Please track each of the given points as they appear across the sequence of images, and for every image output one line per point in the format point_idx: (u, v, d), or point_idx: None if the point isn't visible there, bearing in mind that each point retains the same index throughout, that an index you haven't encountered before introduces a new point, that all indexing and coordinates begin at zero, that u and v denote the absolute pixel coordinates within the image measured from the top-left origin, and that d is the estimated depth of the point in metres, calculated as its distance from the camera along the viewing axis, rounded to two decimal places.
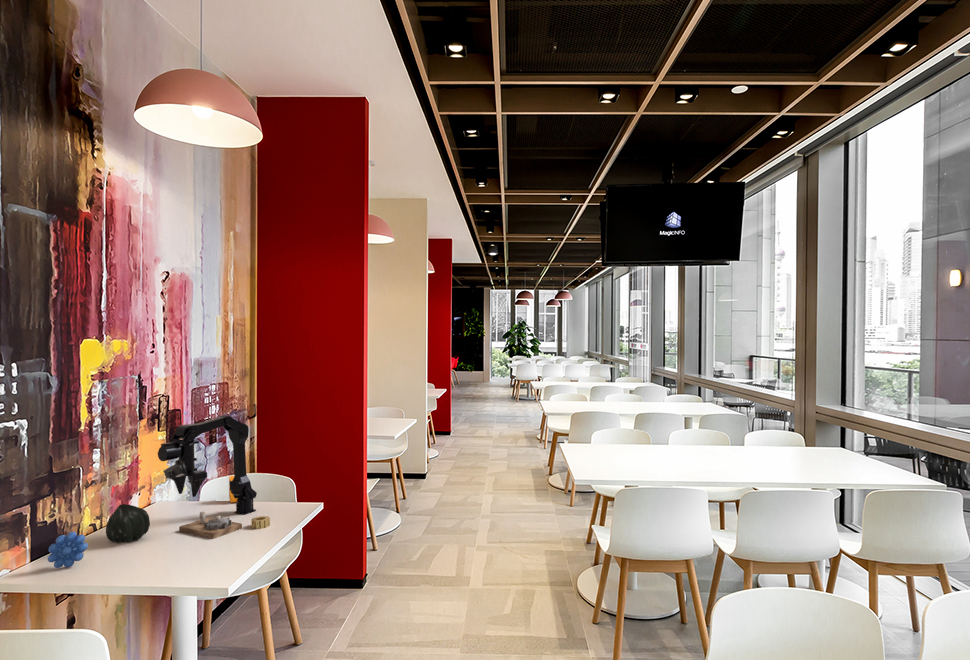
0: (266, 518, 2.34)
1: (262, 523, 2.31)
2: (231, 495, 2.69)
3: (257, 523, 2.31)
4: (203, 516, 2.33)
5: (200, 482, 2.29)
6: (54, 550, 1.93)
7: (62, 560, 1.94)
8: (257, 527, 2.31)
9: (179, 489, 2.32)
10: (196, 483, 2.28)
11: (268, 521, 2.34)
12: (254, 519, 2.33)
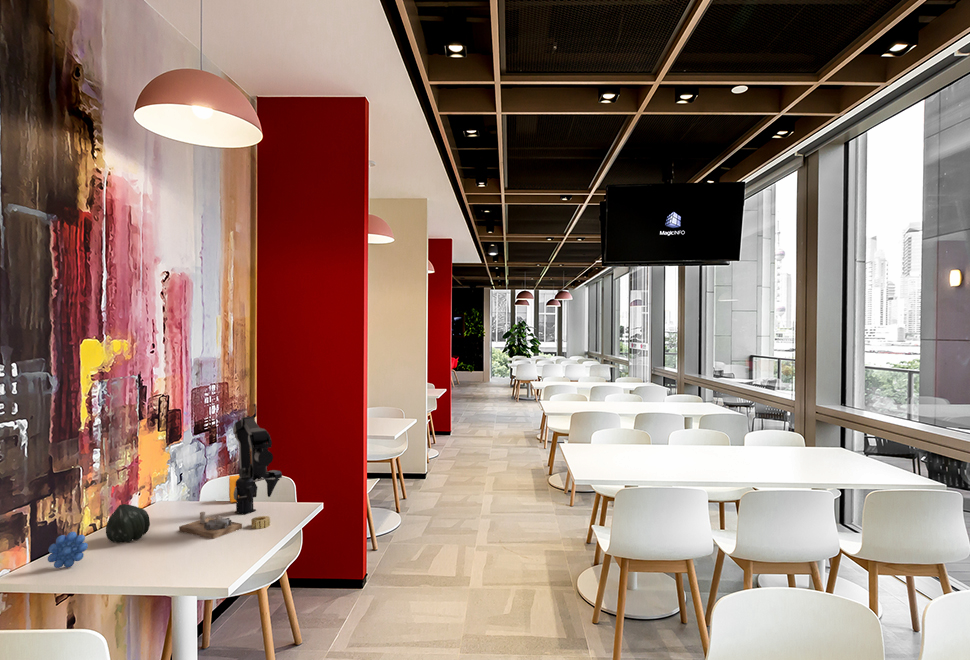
0: (266, 518, 2.34)
1: (262, 523, 2.31)
2: (231, 495, 2.69)
3: (257, 523, 2.31)
4: (203, 516, 2.33)
5: (249, 490, 2.28)
6: (54, 550, 1.93)
7: (62, 560, 1.94)
8: (257, 527, 2.31)
9: (267, 492, 2.39)
10: (248, 490, 2.29)
11: (268, 521, 2.34)
12: (254, 519, 2.33)
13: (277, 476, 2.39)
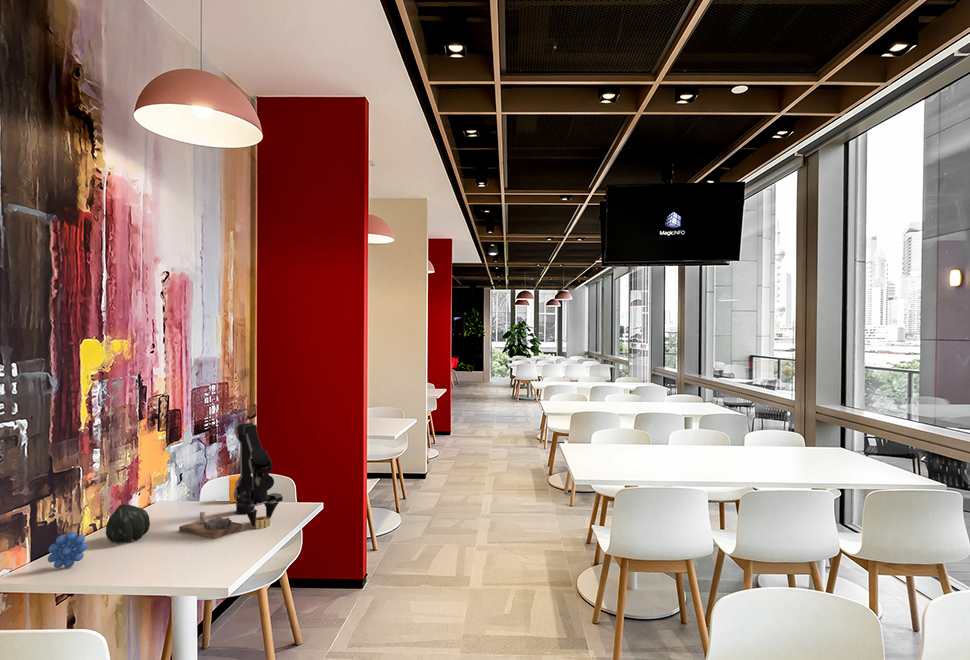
0: (266, 518, 2.34)
1: (262, 523, 2.31)
2: (231, 495, 2.69)
3: (257, 523, 2.31)
4: (203, 516, 2.33)
5: (252, 514, 2.29)
6: (54, 550, 1.93)
7: (62, 560, 1.94)
8: (257, 527, 2.31)
9: None
10: (251, 514, 2.30)
11: (268, 521, 2.34)
12: None
13: (278, 499, 2.39)
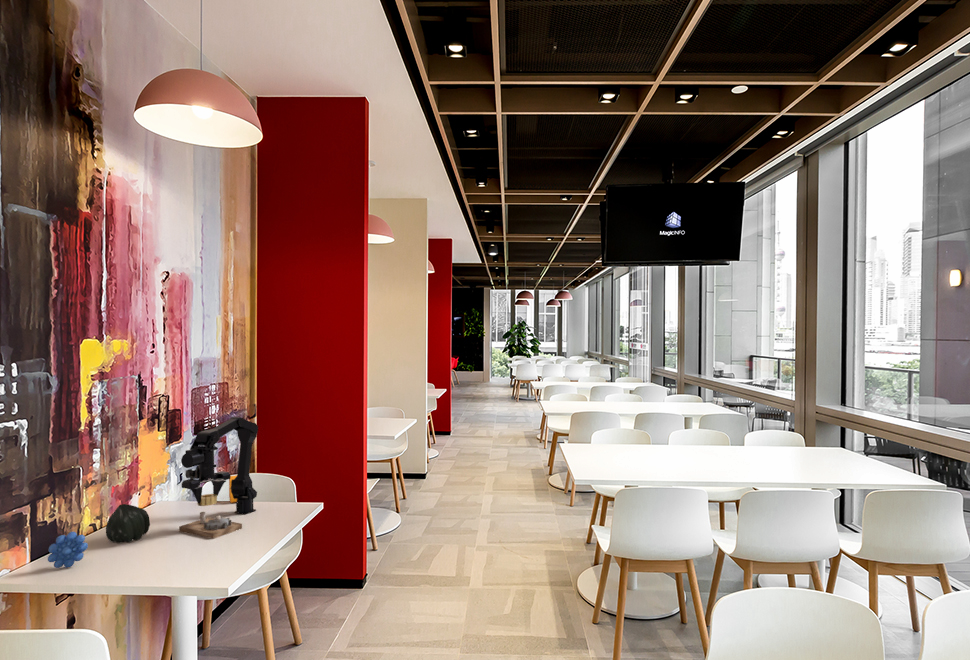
0: (213, 495, 2.34)
1: (208, 500, 2.31)
2: (231, 495, 2.69)
3: (203, 500, 2.30)
4: (203, 516, 2.33)
5: (197, 491, 2.28)
6: (54, 550, 1.93)
7: (62, 560, 1.94)
8: (203, 504, 2.30)
9: None
10: (196, 491, 2.29)
11: (215, 498, 2.33)
12: None
13: (225, 477, 2.38)
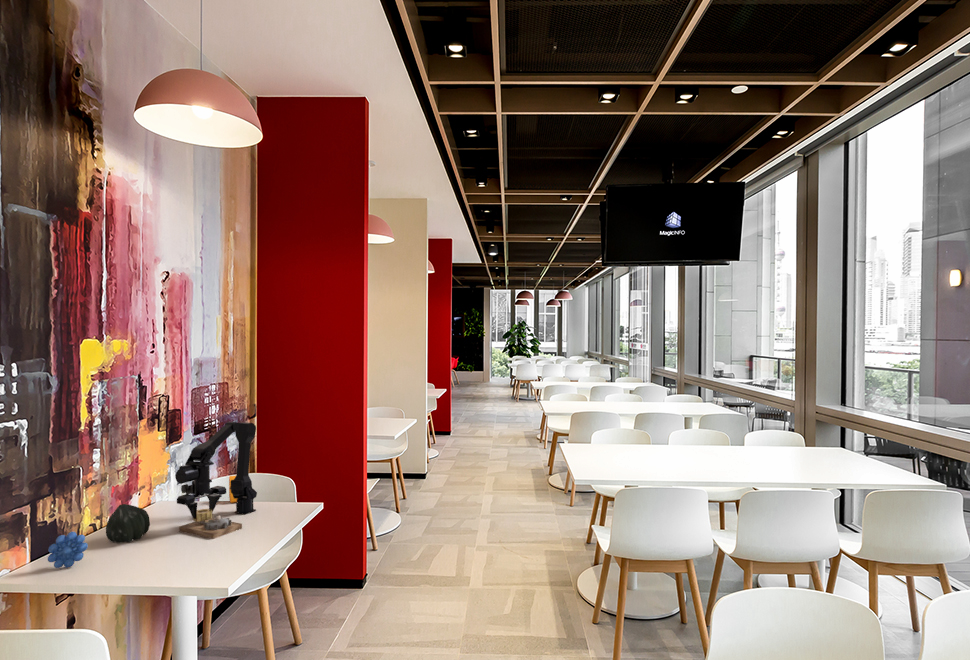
0: (208, 511, 2.33)
1: (203, 516, 2.30)
2: (231, 495, 2.69)
3: (198, 516, 2.30)
4: None
5: (192, 507, 2.28)
6: (54, 550, 1.93)
7: (62, 560, 1.94)
8: (198, 520, 2.30)
9: (209, 508, 2.37)
10: (192, 506, 2.29)
11: (210, 514, 2.33)
12: None
13: (221, 492, 2.38)
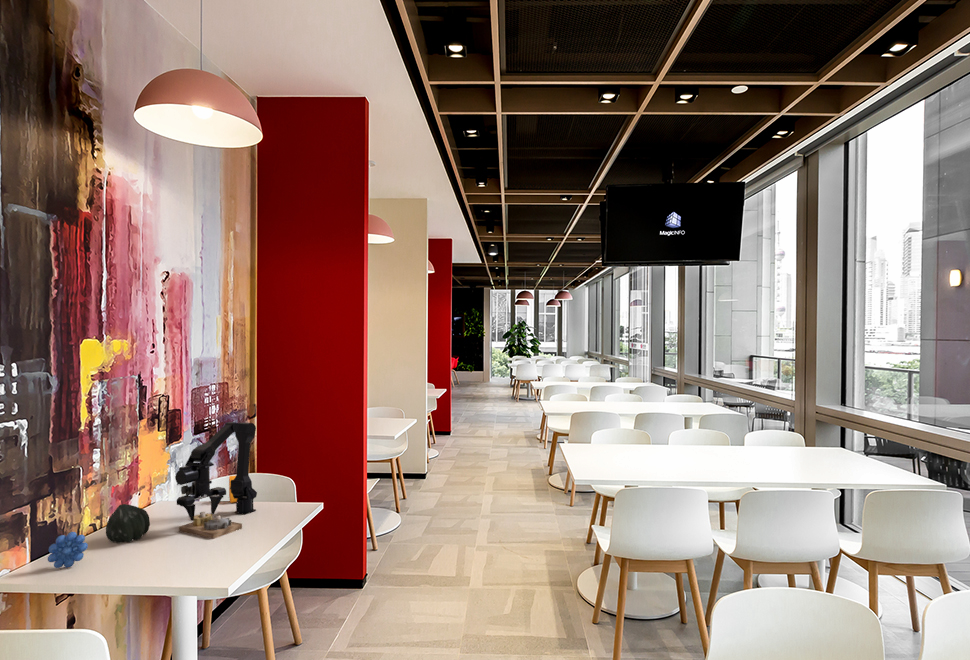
0: (208, 515, 2.33)
1: (203, 520, 2.30)
2: (231, 495, 2.69)
3: (198, 520, 2.30)
4: (203, 516, 2.33)
5: (190, 508, 2.27)
6: (54, 550, 1.93)
7: (62, 560, 1.94)
8: (198, 524, 2.30)
9: (211, 509, 2.38)
10: (189, 508, 2.28)
11: (210, 518, 2.33)
12: (196, 516, 2.32)
13: (221, 493, 2.38)
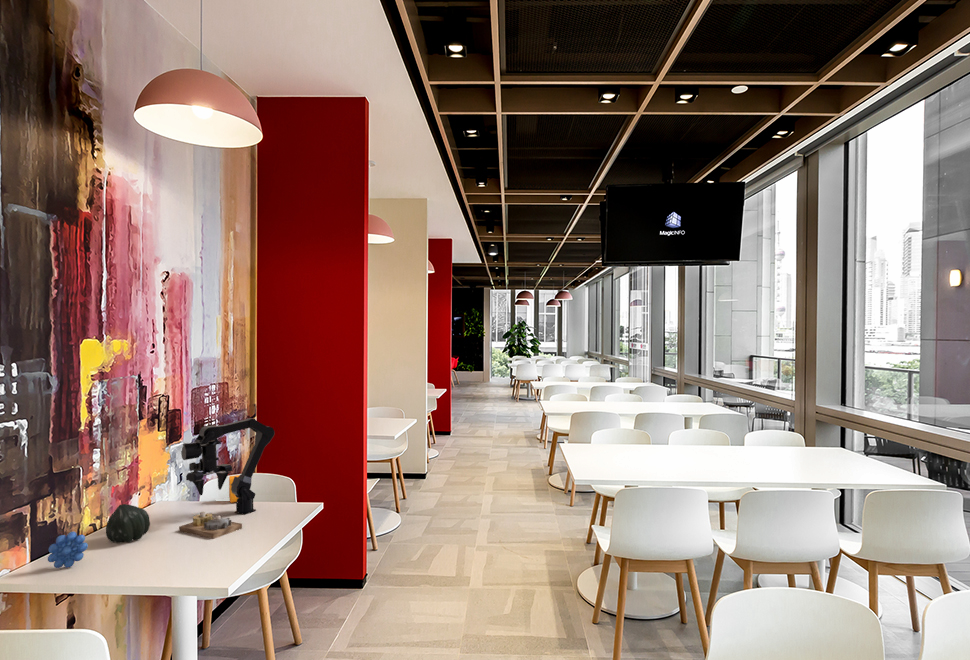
0: (208, 515, 2.33)
1: (203, 520, 2.30)
2: (231, 495, 2.69)
3: (198, 520, 2.30)
4: (203, 516, 2.33)
5: (199, 483, 2.38)
6: (54, 550, 1.93)
7: (62, 560, 1.94)
8: (198, 524, 2.30)
9: (218, 485, 2.49)
10: (198, 483, 2.39)
11: (210, 518, 2.33)
12: (196, 516, 2.32)
13: (227, 469, 2.49)
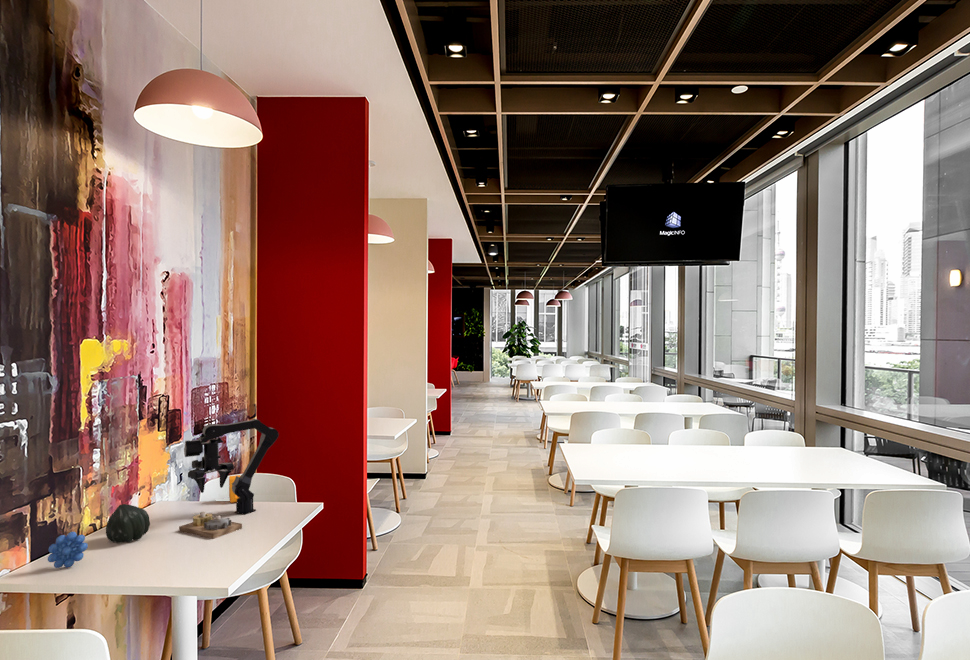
0: (208, 515, 2.33)
1: (203, 520, 2.30)
2: (231, 495, 2.69)
3: (198, 520, 2.30)
4: (203, 516, 2.33)
5: (200, 481, 2.41)
6: (54, 550, 1.93)
7: (62, 560, 1.94)
8: (198, 524, 2.30)
9: (220, 483, 2.52)
10: (200, 481, 2.42)
11: (210, 518, 2.33)
12: (196, 516, 2.32)
13: (229, 468, 2.52)
